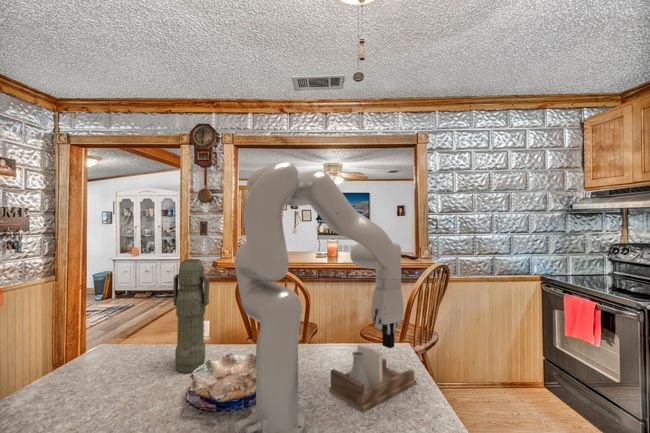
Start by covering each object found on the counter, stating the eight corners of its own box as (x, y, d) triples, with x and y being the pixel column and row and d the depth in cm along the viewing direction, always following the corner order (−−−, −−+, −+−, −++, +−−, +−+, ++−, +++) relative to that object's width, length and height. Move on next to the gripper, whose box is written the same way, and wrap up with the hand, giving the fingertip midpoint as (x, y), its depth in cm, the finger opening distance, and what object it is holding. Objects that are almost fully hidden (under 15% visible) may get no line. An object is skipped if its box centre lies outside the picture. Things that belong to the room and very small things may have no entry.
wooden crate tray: (363, 412, 76) (363, 387, 76) (329, 391, 86) (328, 369, 86) (416, 383, 90) (416, 362, 90) (381, 368, 100) (381, 349, 100)
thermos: (203, 374, 97) (204, 261, 99) (165, 374, 97) (167, 261, 99) (213, 362, 106) (214, 258, 107) (179, 362, 106) (180, 258, 108)
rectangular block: (379, 391, 83) (379, 353, 84) (357, 380, 90) (357, 344, 90) (382, 390, 84) (382, 352, 85) (360, 379, 90) (360, 344, 91)
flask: (371, 399, 80) (370, 359, 80) (343, 396, 81) (342, 357, 82) (372, 385, 87) (372, 349, 87) (347, 383, 88) (346, 347, 89)
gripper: (394, 280, 101) (394, 338, 100) (361, 284, 92) (361, 348, 91) (413, 283, 95) (413, 344, 94) (381, 288, 86) (381, 356, 85)
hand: (388, 346), depth 92 cm, fingers closed
